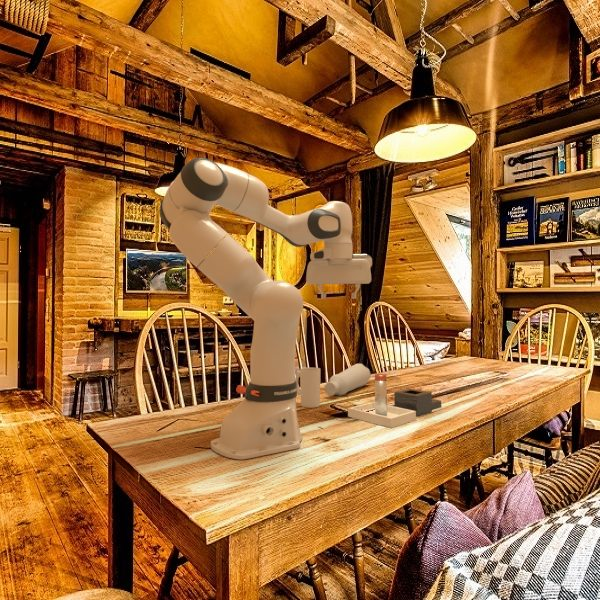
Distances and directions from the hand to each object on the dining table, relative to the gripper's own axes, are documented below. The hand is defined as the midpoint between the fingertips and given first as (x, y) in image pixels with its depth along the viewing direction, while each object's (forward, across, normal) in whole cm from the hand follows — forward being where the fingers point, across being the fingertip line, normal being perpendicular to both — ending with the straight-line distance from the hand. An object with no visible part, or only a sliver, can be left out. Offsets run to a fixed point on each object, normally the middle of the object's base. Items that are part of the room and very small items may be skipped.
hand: (338, 298), depth 131 cm
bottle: (+35, -2, -30) cm, 47 cm away
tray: (+35, -12, +7) cm, 38 cm away
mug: (+35, +11, -7) cm, 38 cm away
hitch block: (+35, -25, -4) cm, 43 cm away
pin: (+34, -12, +7) cm, 37 cm away
